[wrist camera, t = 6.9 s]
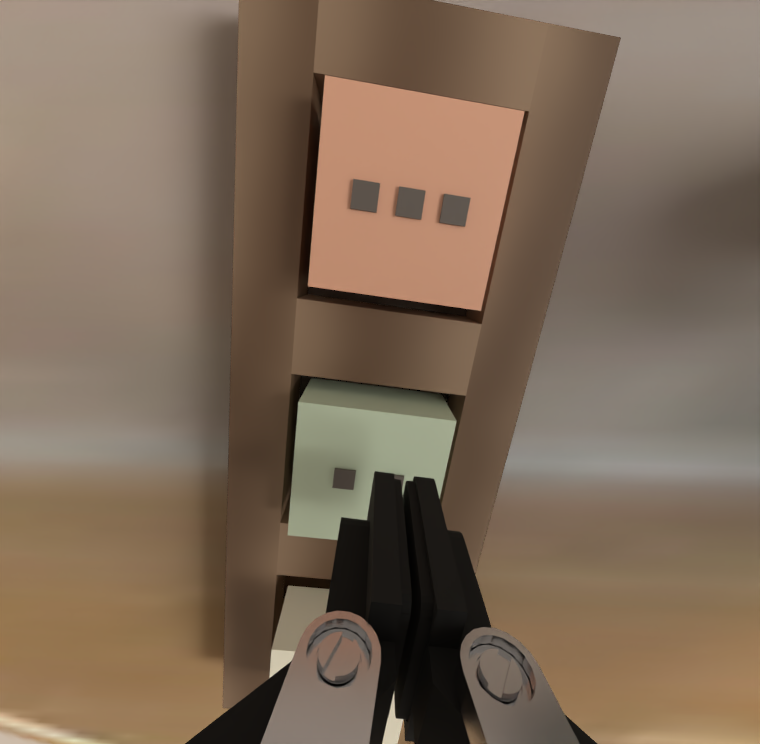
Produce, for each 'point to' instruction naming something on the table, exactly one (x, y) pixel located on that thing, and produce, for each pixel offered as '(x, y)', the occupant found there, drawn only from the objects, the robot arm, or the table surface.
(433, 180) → the button three
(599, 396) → the table surface
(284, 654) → the button one
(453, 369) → the button board
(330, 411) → the button two
